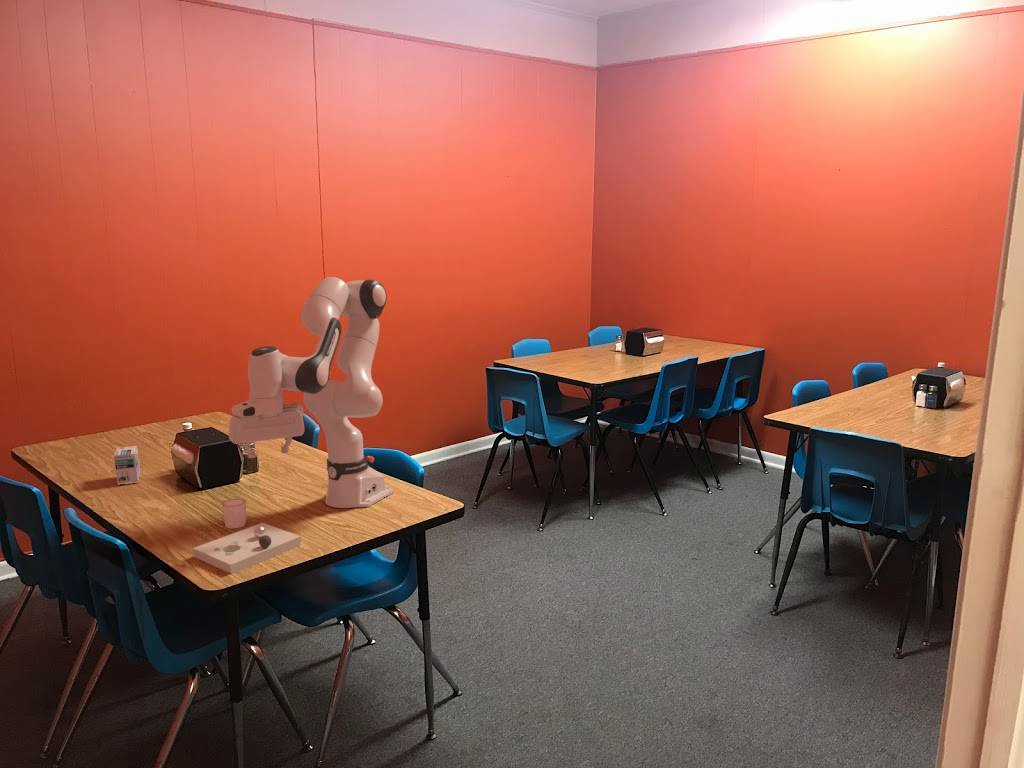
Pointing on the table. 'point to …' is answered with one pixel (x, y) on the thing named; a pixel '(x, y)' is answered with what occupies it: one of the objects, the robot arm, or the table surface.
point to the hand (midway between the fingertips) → (268, 455)
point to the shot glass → (234, 513)
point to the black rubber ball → (265, 541)
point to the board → (245, 548)
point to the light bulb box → (127, 464)
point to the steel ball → (259, 531)
